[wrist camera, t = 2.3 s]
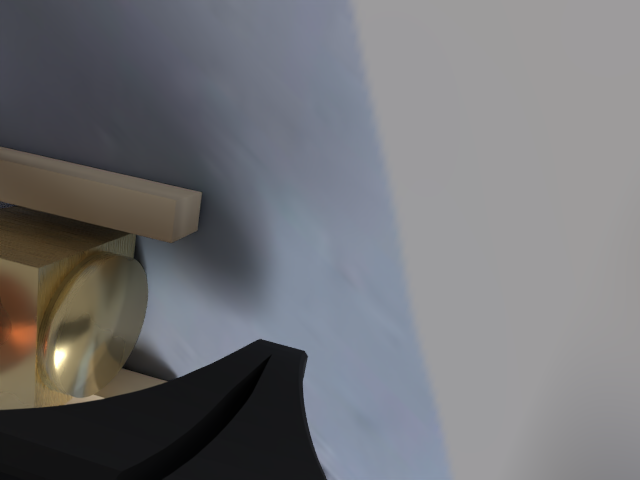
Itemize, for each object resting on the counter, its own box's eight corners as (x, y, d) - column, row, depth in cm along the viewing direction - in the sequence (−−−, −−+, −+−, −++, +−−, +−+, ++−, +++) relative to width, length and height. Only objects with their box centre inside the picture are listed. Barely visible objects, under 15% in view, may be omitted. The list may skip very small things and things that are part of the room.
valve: (153, 235, 14) (26, 288, 10) (141, 360, 16) (23, 462, 11) (7, 200, 15) (-178, 232, 10) (6, 322, 16) (-162, 402, 12)
